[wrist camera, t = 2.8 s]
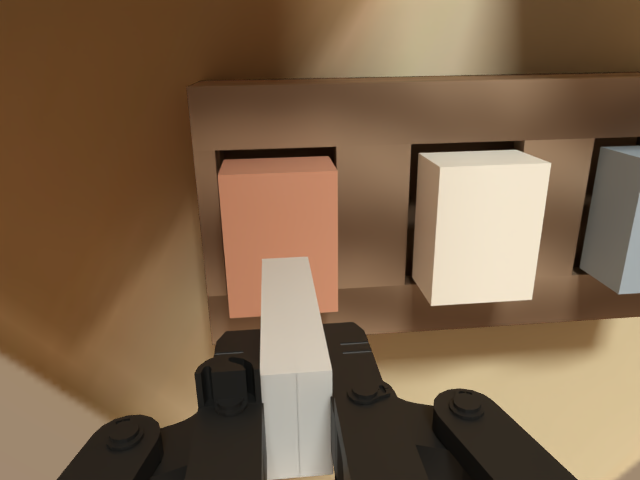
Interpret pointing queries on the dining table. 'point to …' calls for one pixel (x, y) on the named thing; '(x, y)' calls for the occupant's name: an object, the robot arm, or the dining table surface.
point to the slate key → (615, 221)
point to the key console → (401, 179)
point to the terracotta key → (278, 224)
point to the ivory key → (478, 225)
